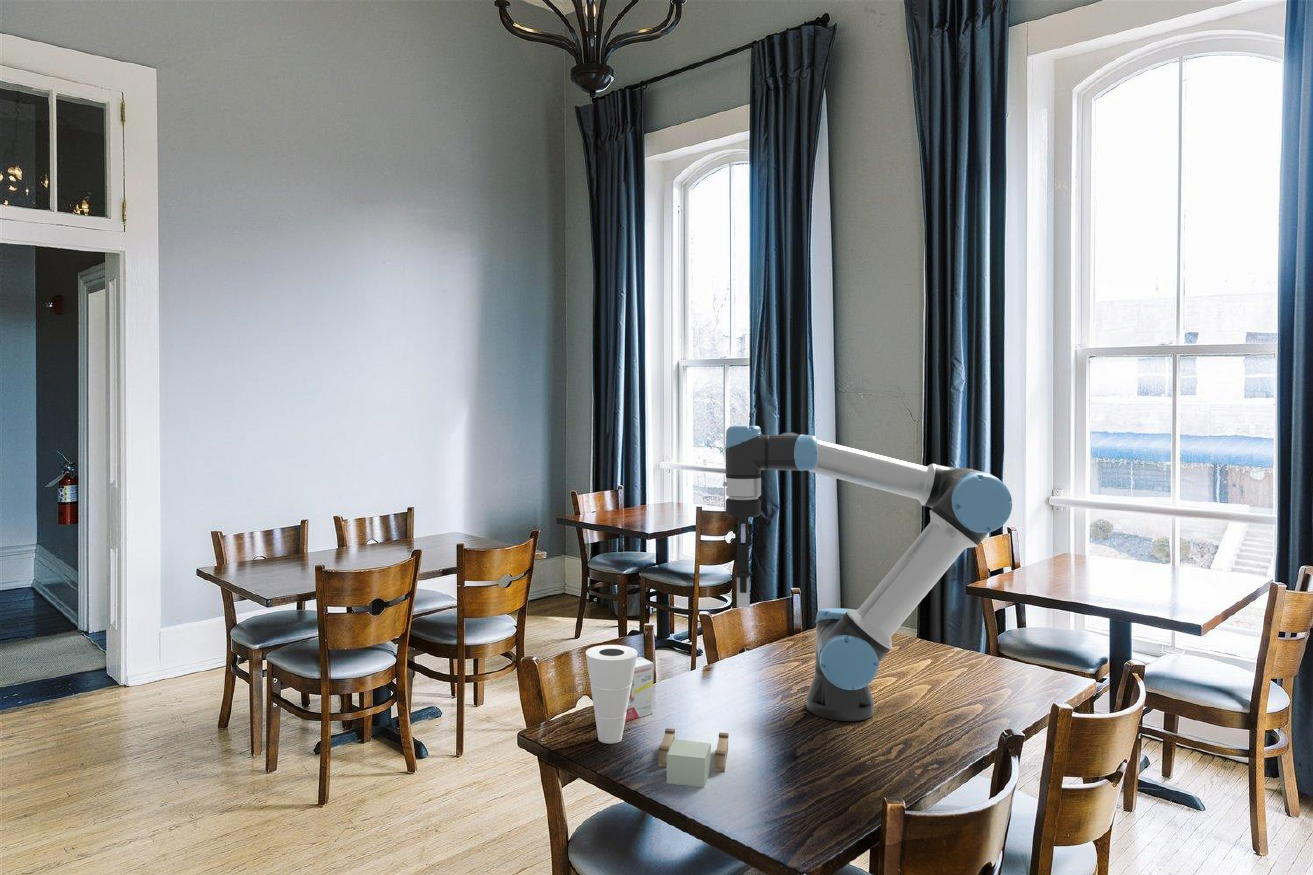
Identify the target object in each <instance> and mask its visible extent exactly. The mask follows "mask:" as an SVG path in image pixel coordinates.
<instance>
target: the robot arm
mask: <svg viewBox="0 0 1313 875" xmlns="http://www.w3.org/2000/svg"><path fill="white" fill-rule="evenodd" d="M761 429H762V428H761V427H760V426H758V425H732V426H729V427H728V428H727V429H726V432H725V445H724V446H725V447H724V451H725V454H724V455H725V456H724V457H725V481H723V482H722V486H723V487H726V488H725V495H726V497H727V498H726V499H725V514H726V516H727V517H730V518H731V517H732V518H737V523H733V533H734V545H735V546H736V547H737V549H736V550H737V555H736V556H737V564H736V569H737V570H736V573H734V574H733V578H736V608H750V601H751V598H750V595H751V594H750V588H751V587H750V576H753V572H752V571H750V547H751V546H752V534H753V524H752V523H749V518H757V517H759V516H760V515H761V510H762V507H761V506H762V504H761V503H762V501H761V499H760V498H759V497H760V496H762V477H761V476H762V475H761V471H771V470H772V471H800V472H803V471H806V472H809V473H814V474H818V475H821V476H825V477H830V478H833V479H837V480H841V481H845V482H848V483H853V484H856V485H860V486H864V487H867V488H868V487H869V488H872V489H876V490H879V491H884V492H888V493H891V494H896V495H899V496H901V497H902V496H903V497H905V498H911V499H915V500H917V501H918V502H919V504H920V505H921V506H923V507H928V508H931V509H930V510H929V516H930V522H929V523H928V525H927V526H926V527H925V528H924V529H923V531H922V532H921V533H920V534H919V535H918V537H916V539H915V540H914V542H912V544H911V545H910V547H908V549H907V550H906V551H905V552H904V553H903V555H901V557H900V558H899V559H898V561H897V562H896V563H895V564H894V565H893V567H892V568H891V569H890V570H889V572H888V573H886V575H885V576H884V577H883V579H882V580H881V581H880V582H879V584H878V585H877V586H876V587H875V588H874V589H873V591H872V592H871V593H870V594H869V595H868V597H867V598H866V599H865V601H864V602H863V603H862V604H861V605H860V606H859V607H858V609H857V608H856V609H852V608H838V607H837V608H836V607H835V608H834V607H829V608H821V609H819V610H818V611H817V613H816V618H815V624H816V626H815V627H816V628H815V629H816V630H815V656H814V657H815V664H814V665H815V666H814V675H813V677H812V680H811V683H810V686H809V689H808V691H807V695H806V701H805V702H806V704H805V706H806V709H807V710H808V711H809V712H810V713H811V714H813V715H816V716H818V717H820V718H824V719H828V720H831V721H832V720H833V721H839V722H840V721H842V722H857V721H863V720H868V719H869V718H871V717H872V716H874V714H875V702H874V697H873V695H872V691H871V688H870V684H871V683H872V682H873V681H874V679H875V678H876V677H877V673H878V670H879V668H880V665H879V664H880V663H881V662H882V660H883V659H884V658H886V656H887V654H888V653H889V652H890V650H891V649H893V644H892V642H893V641H892V636H893V635H894V634H895V633H896V632H897V631H898V629H899V628H900V627H901V626H902V624H903V623H905V621H906V620H907V618H908V617H909V616H910V615H911V613H913V611H915V609H916V608H917V606H918V605H919V604H920V603H921V602H922V600H923V599H924V598H925V597H926V596H927V595H928V593H929V592H930V591H931V590H932V589H933V588H934V586H935V585H936V584H937V583H938V582H939V580H940V579H941V578H942V577H943V576H944V574H945V573H946V572H947V571H948V570H949V569H950V567H951V566H952V565H953V563H955V562H956V560H957V559H958V557H960V555H961V554H962V553H963V552H964V550H966V549H968V548H977V547H978V546H979V545H980V543H981V542H982V541H983V540H984V539H985V538H986V537H987V535H988V534H989V533H992V532H995V531H997V530H998V529H1000V528H1001V527H1003V526H1004V525H1005V524H1006V523H1007V521H1008V520H1009V518H1010V516H1011V513H1012V510H1013V498H1012V495H1011V494H1012V493H1010V490H1009V488H1008V487H1007V485H1005V483H1004V482H1003V481H1002V480H1000V479H999V478H998V477H996V476H995V475H993V474H992V473H991V472H990V473H989V472H985V471H980V470H978V469H974V468H963V467H951V466H946V465H941V464H937V463H931V464H929V465H927V466H926V465H922V464H917V463H913V462H909V461H905V460H901V459H896V458H893V457H889V456H886V455H881V454H877V453H873V452H869V451H866V450H861V449H857V448H853V447H849V446H844V445H841V444H837V443H834V442H829V441H824V440H820V439H818V438H817V437H816V436H815V435H813V434H812V435H811V434H804V433H803V434H799V433H795V432H790V431H788V432H783V433H781V434H777V435H775V434H773V435H771V434H770V435H769V434H762V430H761Z"/></svg>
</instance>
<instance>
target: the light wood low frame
mask: <svg viewBox="0 0 1313 875" xmlns="http://www.w3.org/2000/svg"><path fill="white" fill-rule="evenodd" d="M675 734H676V729H675V728H667V727H666V728H665V730H664V734H663V735H664V736H663V737H662V741H661V743H660V745H658V751H657V752H658V767H662V768H663V767H664V768H667V753H668V751H669V749H670V747H671V745H672V743H673V741H674V739H676V738H675V736H676V735H675ZM714 752H715V753H714V758H715V760H714V772H720V773H721V772H723V773H724V772H725V771H726V765H727V760H728V759H727V758H728V752H729V732H720V731H719V733H718V740H717V745H716V750H715V751H714Z"/></svg>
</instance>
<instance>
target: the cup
mask: <svg viewBox="0 0 1313 875" xmlns="http://www.w3.org/2000/svg"><path fill="white" fill-rule="evenodd" d="M638 653H639V652H638V651H637V649H635V648H634V647H631V646H626V645H620V644H602V645H595V646H592V647H589V648H588V649H586V650H585V657H586V664H587V671H588V679H589V681H590V682H589V685H590V692H591V698H592V706H593V709H594V717H595V724H596V732H597V739H598V741H599V743H600V742H601V743H603V744H610V745H611V744H617V743H619V742H622V740H623V734H624V728H625V724H626V722H625V719H626V710H627V707H628V702H629V697H630V691H631V686H632V680H633V676H634V670H635V665H636V659H637V658H638Z"/></svg>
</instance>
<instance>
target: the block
mask: <svg viewBox="0 0 1313 875" xmlns="http://www.w3.org/2000/svg"><path fill="white" fill-rule="evenodd" d="M711 745H712V743H711V742H702V741H694V740H684V739H676V738H675V739H674V741H673V743H672V745H671V747H670V749H669V751H668V753H667V767H666V784H671V785H678V786H679V785H681V786H689V787H697V788H705V787H706V785H707V784H706V783H707V781H708V778H709V776H710V774H711V755H712V754H711V753H712V752H711V750H712V746H711Z"/></svg>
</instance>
